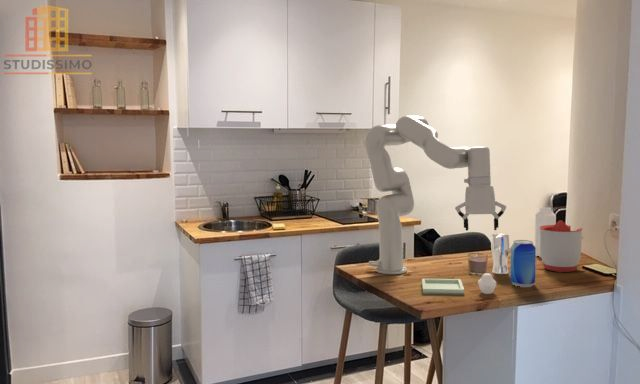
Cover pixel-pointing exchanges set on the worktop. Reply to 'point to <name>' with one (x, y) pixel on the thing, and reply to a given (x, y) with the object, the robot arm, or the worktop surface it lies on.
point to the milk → (543, 219)
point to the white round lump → (487, 283)
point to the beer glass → (500, 253)
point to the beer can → (523, 263)
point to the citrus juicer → (560, 247)
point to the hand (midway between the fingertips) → (481, 229)
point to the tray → (442, 286)
